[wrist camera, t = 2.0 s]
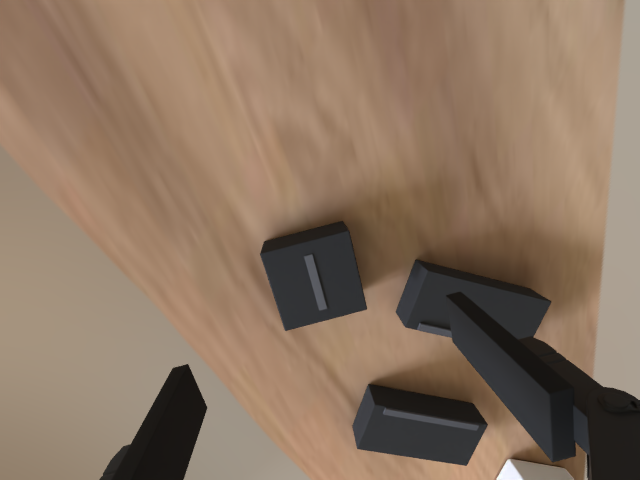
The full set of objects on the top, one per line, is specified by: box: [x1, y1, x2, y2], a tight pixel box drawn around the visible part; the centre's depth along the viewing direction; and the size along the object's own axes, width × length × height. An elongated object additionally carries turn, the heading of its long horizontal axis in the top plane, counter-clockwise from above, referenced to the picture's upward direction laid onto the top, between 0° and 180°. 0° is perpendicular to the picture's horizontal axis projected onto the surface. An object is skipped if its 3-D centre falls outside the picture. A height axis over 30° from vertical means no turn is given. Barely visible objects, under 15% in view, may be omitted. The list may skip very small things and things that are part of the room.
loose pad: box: [260, 221, 367, 331], centre depth 24 cm, size 6×6×3 cm
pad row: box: [353, 260, 551, 466], centre depth 28 cm, size 18×11×3 cm, turn 164°
